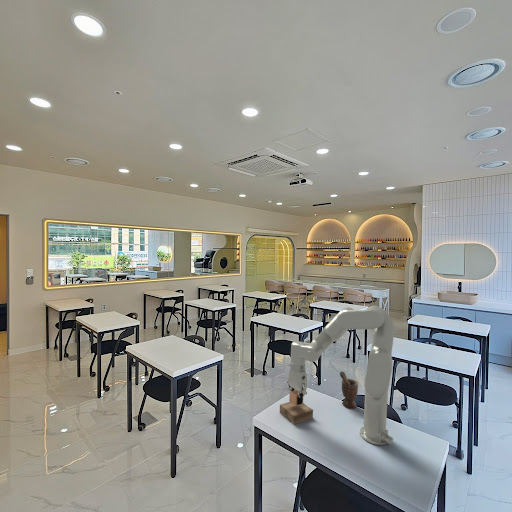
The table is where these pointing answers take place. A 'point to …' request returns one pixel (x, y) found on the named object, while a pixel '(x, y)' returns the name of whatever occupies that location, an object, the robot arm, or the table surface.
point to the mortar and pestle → (349, 391)
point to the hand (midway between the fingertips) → (296, 401)
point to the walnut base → (296, 412)
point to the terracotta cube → (293, 397)
